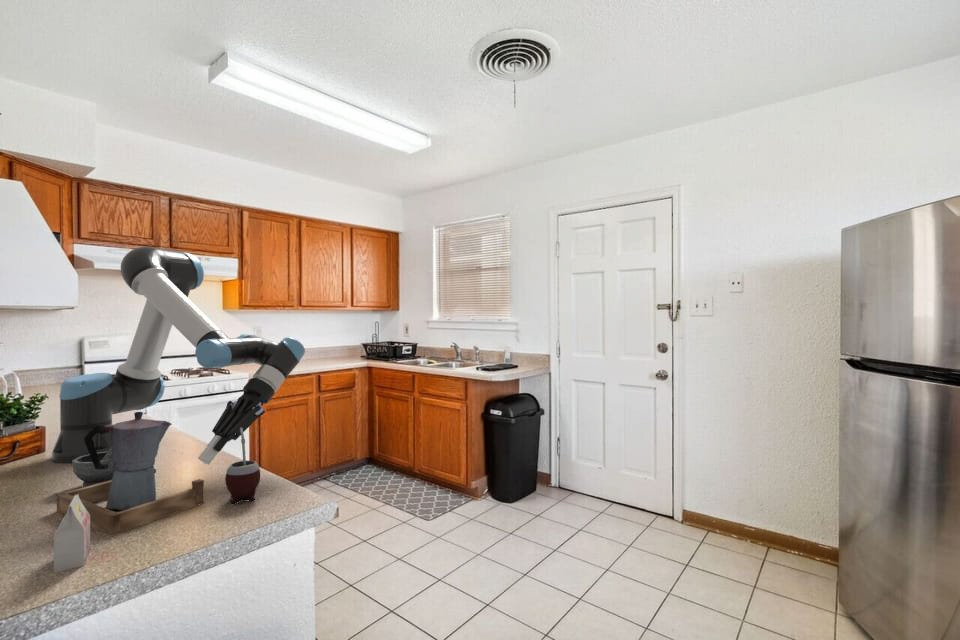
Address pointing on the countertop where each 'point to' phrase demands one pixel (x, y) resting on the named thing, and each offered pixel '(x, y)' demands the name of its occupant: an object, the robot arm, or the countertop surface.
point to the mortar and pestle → (93, 468)
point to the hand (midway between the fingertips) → (203, 461)
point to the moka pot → (130, 459)
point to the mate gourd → (242, 477)
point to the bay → (131, 516)
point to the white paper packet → (72, 537)
